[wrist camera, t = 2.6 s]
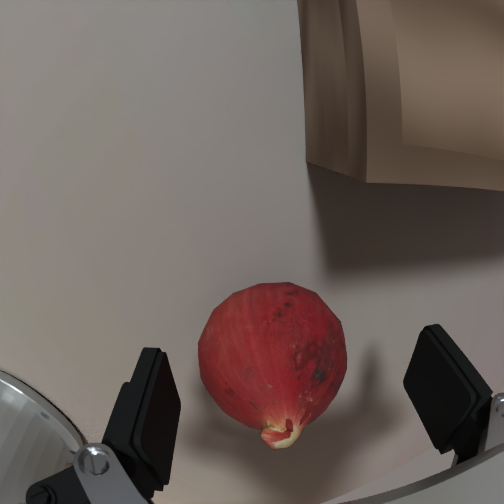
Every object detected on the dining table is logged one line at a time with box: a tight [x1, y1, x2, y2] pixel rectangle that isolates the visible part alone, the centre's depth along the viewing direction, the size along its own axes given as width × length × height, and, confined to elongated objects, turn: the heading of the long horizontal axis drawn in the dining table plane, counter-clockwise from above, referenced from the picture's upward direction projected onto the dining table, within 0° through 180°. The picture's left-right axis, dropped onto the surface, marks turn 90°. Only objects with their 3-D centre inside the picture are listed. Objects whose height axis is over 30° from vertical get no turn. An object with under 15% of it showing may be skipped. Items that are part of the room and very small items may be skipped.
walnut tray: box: [297, 0, 504, 191], centre depth 7 cm, size 14×14×6 cm
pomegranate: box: [198, 282, 347, 450], centre depth 11 cm, size 6×6×8 cm
